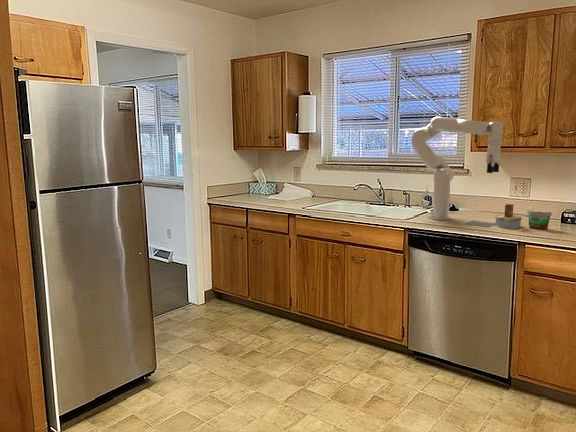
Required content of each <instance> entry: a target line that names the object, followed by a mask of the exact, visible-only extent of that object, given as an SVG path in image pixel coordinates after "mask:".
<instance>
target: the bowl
mask: <svg viewBox="0 0 576 432" xmlns="http://www.w3.org/2000/svg"><path fill="white" fill-rule="evenodd" d="M495 223H496V225H495V226H496V227H498V228H502V229H519V228H521V223H522V219H521V220H519V221H506V220H499V219H496V218H495Z"/></svg>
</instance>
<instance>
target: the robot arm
mask: <svg viewBox="0 0 576 432" xmlns="http://www.w3.org/2000/svg"><path fill="white" fill-rule="evenodd" d="M503 131H504V122H502V121H489V122H488V121H482V120H468V119H463V118H456V117H447V116H435V117H433V118H432V119H431V121H430V123H429V124H428V125H427V126H425V127H420V128H417V129H416V130H415V131H414V132H413V134H412V135H411V145H412V148H413V149H414V151H415V153H416V154H417V156H418V157H419V158H420V160H421V161H422V162H423V164H424V165H425V167H426V168H427V169H428V170H432V171H433V172H434V175H433V202H432V203H433V205H432V210H427V215H430V217H429V218H430V219H431V220H437V221H446V220H451V219H452V216H450V215H449V213H450V198H451V181H452V180H453V179H454V171H453V169H452V168H451V167H450V166H449V164H448V163H447V162H446V160H445V158H443V156H441V155H440V154H437V153H435V152H434V151H433V150H432V148H431V147H430V146H429V145H428V143H427V142H429V141H431V140H432V139H433V138H435V137H436V136H438V135H439V134H440V133H443V132H445V133H446V132H449V133H457V134H458V133H459V134H460V133H461V134H471V135H487V134H488V137H487V146H488V147H487V149H486V160H485V161H486V173H487V174H493V173H499V172H500V161H501V146H503V145H502V144H503Z"/></svg>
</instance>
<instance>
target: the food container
mask: <svg viewBox="0 0 576 432" xmlns="http://www.w3.org/2000/svg"><path fill="white" fill-rule="evenodd" d="M527 215H528V229H532V230H537V231H539V230H540V231H545V230H548V228H549V222H550V218H551V216H552V215H553V214H552V211H547V212H545V211H544V212H543V211H532V210H529V209H528V211H527Z"/></svg>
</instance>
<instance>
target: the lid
mask: <svg viewBox="0 0 576 432" xmlns="http://www.w3.org/2000/svg"><path fill="white" fill-rule="evenodd" d="M514 207H515V205H514V204H512V203H511V204H510V203H506V204H505V205H504V214H497V215H496V214H495V220H496V219H499V220H506V221H519V220H521V221H522V218H523V217H521V216H520V215H514Z"/></svg>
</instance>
